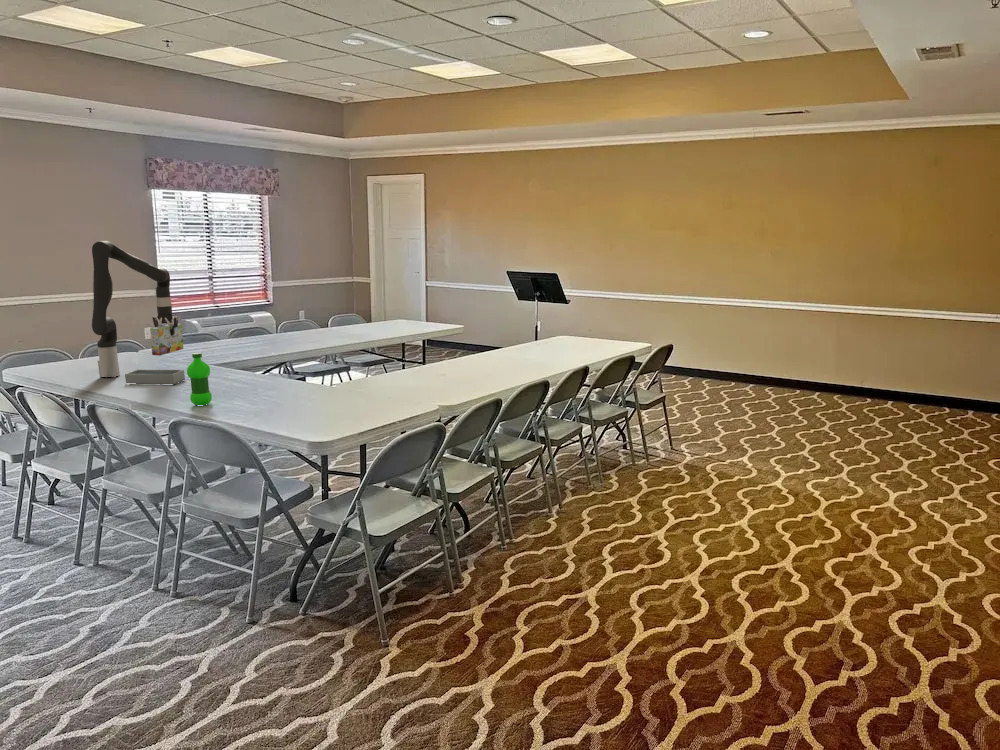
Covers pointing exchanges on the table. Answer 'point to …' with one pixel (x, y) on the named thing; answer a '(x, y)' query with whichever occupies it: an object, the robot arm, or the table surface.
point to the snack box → (166, 339)
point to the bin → (155, 376)
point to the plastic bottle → (199, 380)
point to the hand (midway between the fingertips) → (167, 335)
